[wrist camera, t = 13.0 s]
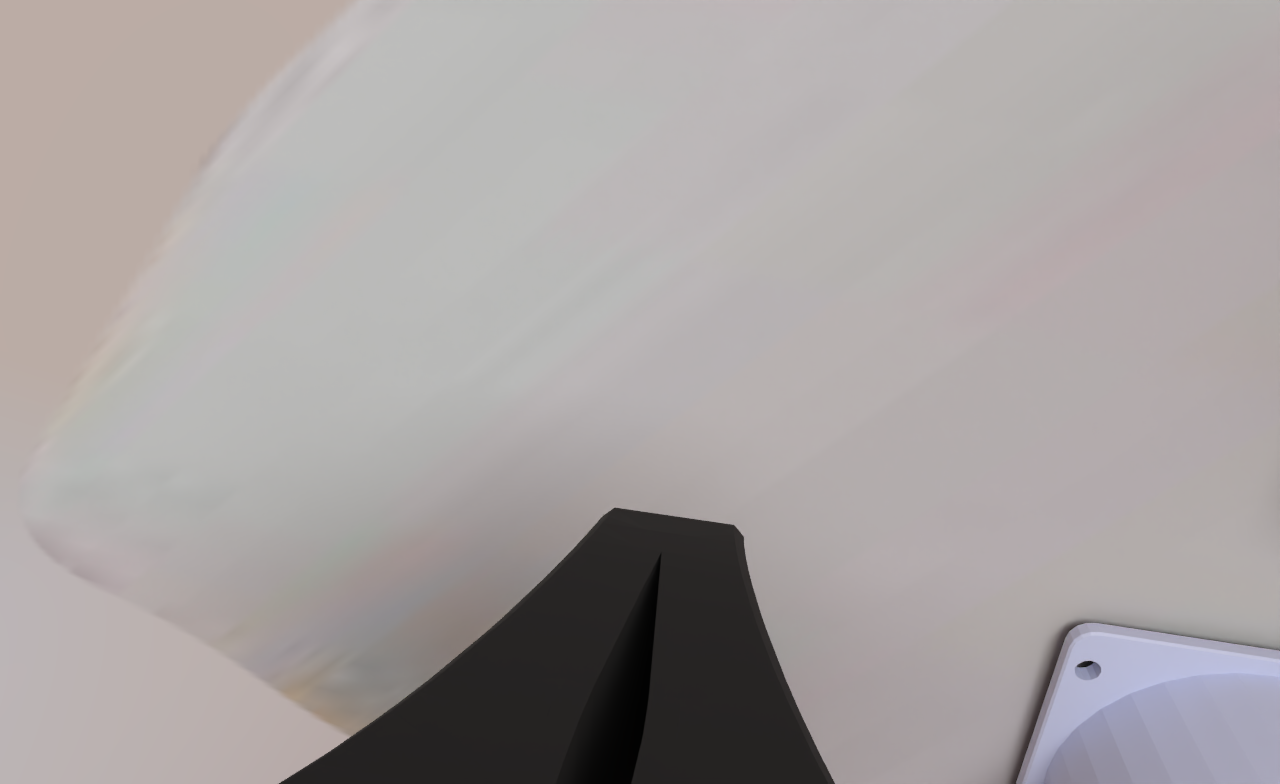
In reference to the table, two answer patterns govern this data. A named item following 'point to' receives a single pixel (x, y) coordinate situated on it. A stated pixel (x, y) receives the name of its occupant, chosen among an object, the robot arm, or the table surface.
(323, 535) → the table surface
